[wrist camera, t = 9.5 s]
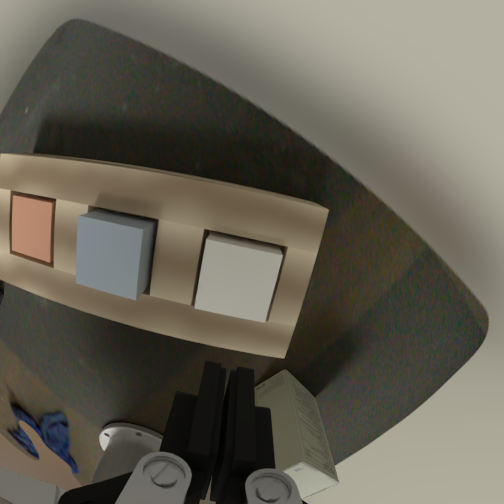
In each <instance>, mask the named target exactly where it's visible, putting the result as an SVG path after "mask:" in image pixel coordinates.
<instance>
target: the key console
mask: <svg viewBox="0 0 504 504" xmlns="http://www.w3.org/2000/svg"><path fill="white" fill-rule="evenodd" d="M22 193H28V194H34V195H39V196H44V197H49V198H55V199H56V210H55V227H54V261H53V262H51V263H49V262H46V261H43V260H40V259H37V258H34V257H31V256H28V255H25V254H22V253H19V252H16V251H13V250H12V206H13V195H17V194H22ZM98 209H99V210H104V211H109V212H114V213H119V214H124V215H129V216H134V217H138V218H143V219H148V220H153V221H157V226H156V233H155V240H154V248H153V255H152V264H151V273H150V282H149V285H148V287H147V288H146V289H145V290H144V292H143V293H142V294H141V295H140V296H139V298H138V299H137V300H132V299H129V298H125V297H121V296H118V295H114V294H111V293H107V292H104V291H100V290H97V289H93V288H90V287H87V286H83V285H80V284H77V283H76V246H77V228H78V216H79V215H82V214H85V213H88V212H91V211H94V210H98ZM328 212H329V210H328V209H327V208H325V207H323V206H321V205H319V204H317V203H315V202H312V201H308V200H304V199H300V198H296V197H292V196H288V195H284V194H279V193H275V192H271V191H266V190H262V189H257V188H253V187H248V186H244V185H239V184H234V183H230V182H225V181H220V180H215V179H210V178H205V177H199V176H194V175H189V174H183V173H178V172H172V171H166V170H160V169H154V168H148V167H142V166H136V165H129V164H122V163H115V162H108V161H101V160H93V159H85V158H76V157H68V156H58V155H48V154H37V153H7V154H1V157H0V280H3V281H5V282H7V283H10V284H12V285H14V286H17V287H19V288H22V289H24V290H27V291H29V292H32V293H34V294H37V295H39V296H42V297H45V298H47V299H50V300H53V301H56V302H58V303H61V304H64V305H67V306H70V307H73V308H75V309H78V310H81V311H84V312H87V313H91V314H94V315H97V316H100V317H103V318H106V319H110V320H113V321H116V322H120V323H123V324H127V325H130V326H134V327H137V328H141V329H145V330H148V331H152V332H156V333H160V334H164V335H168V336H172V337H176V338H180V339H184V340H189V341H193V342H197V343H202V344H206V345H211V346H216V347H221V348H226V349H231V350H236V351H242V352H247V353H253V354H258V355H264V356H271V357H277V358H283V359H284V358H285V355H286V352H287V349H288V347H289V344H290V341H291V338H292V335H293V332H294V328H295V325H296V322H297V319H298V316H299V313H300V310H301V307H302V303H303V300H304V297H305V294H306V290H307V287H308V284H309V280H310V277H311V274H312V270H313V267H314V263H315V260H316V256H317V253H318V249H319V246H320V242H321V238H322V235H323V231H324V227H325V224H326V220H327V216H328ZM212 230H213V231H218V232H222V233H227V234H232V235H236V236H241V237H246V238H250V239H255V240H260V241H264V242H269V243H273V244H278V245H279V247H280V249H281V252H282V255H283V257H282V261H281V265H280V268H279V272H278V276H277V280H276V284H275V287H274V291H273V295H272V298H271V302H270V306H269V309H268V313H267V317H266V320H265V323H263V322H258V321H253V320H247V319H242V318H237V317H232V316H227V315H223V314H218V313H213V312H208V311H204V310H199V309H195V308H194V307H195V301H196V295H197V289H198V283H199V277H200V272H201V266H202V260H203V255H204V249H205V244H206V239H207V238H208V236H209V234H210V233H211V231H212Z"/></svg>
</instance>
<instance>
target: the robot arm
mask: <svg viewBox="0 0 504 504" xmlns="http://www.w3.org/2000/svg"><path fill="white" fill-rule="evenodd" d="M225 379H226V368H221V363H216V362H211V361H207V360H206V361H205V366H204V371H203V375H202V380H201V385H200V390H199V394H198V396H196V395H192V394H187V393H183V392H178V391H177V392H176V395H175V398H174V401H173V405H172V408H171V411H170V415H169V418H168V422H167V425H166V428H165V432H164V435H161V434H159V433H157V432H155V431H153V430H150V429H148V428H145V427H142V426H139V425H135V424H130V423H112V424H109V425H107V426H105V427H104V428H103V429H102V431H101V433H100V435H99V441H100V444H101V446H102V448H103V450H104V454H103V456H102V458H101V461H100V463H99V465H98V468H97V470H96V472H95V475H94V477H93V479H92V482H91V484H90V485H87V486H83V487H80V488H75V489H72V490H69V491H67V490H63V489H59V488H58V487H57V486H56V485H52V484H49V483H45V482H42V481H38V480H36V479H33V478H30V477H27V476H24V475H21V474H18V473H15V472H13V471H10V470H8V469H5V468H1V467H0V504H199V502H200V499H202V500H205V498H206V494H207V491H208V487H209V484H210V481H211V477H212V483H211V493H210V501H215V502H216V504H307V503H306V502H304V501H303V500H302V499H301V497H300V494H299V491H298V487H297V485H296V483H295V481H294V480H293V479H292V478H291V477H290V476H289V475H288V474H286V473H284V472H283V471H280V470H277V469H276V467H275V455H274V443H273V431H272V419H271V410H270V408H267V407H259V406H255V390H254V369H249V368H243V367H238V368H237V370H231V372H230V376H229V380H228V384H227V388H226V392H225V396H224V389H225ZM223 398H224V401H223Z"/></svg>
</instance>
